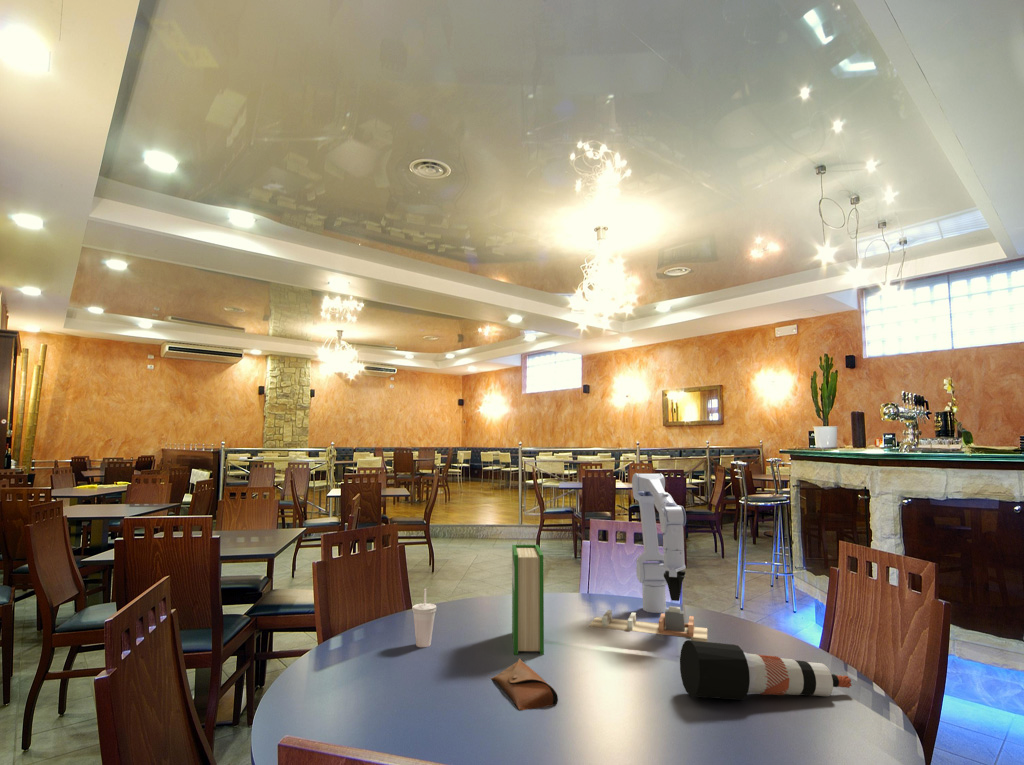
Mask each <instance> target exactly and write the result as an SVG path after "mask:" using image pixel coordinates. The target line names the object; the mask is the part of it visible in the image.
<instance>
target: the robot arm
mask: <svg viewBox="0 0 1024 765" xmlns="http://www.w3.org/2000/svg"><path fill="white" fill-rule="evenodd" d="M631 479H632V480H631V488H632V496H633V499H634V500H636V501H637V502H638V504H639V505H638V506H639V511H640V512H639V513H640V522H641V530H642V531H641V532H642V534H641V535H642V542H643V552H642V553H641V554H639V556H638V557H637V559H636V567H635V569H636V570H635V572H636V578H637V580H638V581H639V583H641V585H642V586H641V588H642V592H641V593H642V610H643V611H644V612H647V613H654V614H661V613H663V614H664V613H665V610H666V609H669V607H667V601H666V600H667V599H666V598H667V596H666V586H667V588H668V592H669V597H670V600H671V601H675V602H676V601H677V602H679V601H680V599H681V595H682V586H683V582H684V579H685V577H686V576H685V575H686V568H687V567H686V564H685V562H686V561H685V541H684V540H685V538H684V537H685V536H684V527H685V526H686V523H687V515H686V514H687V513H686V510H685V508H684V506H683V505H678V504H677V503H676V502H675V501H674V498H673V497H672V495H671V494H670V493H668V491H667V492H666V491H665V487H666V479H665V475H663V474H662V472H660V473H637V472H634V474H633V475H632V478H631ZM655 509H656V510H657V512H658V513H659V514H658V515H659V516H658V518H659V523H660V530H661V533H662V546H663V547H662V549H663V550H662V552H663V553H661V552H660V547H659V539H658V538H659V537H658V529H657V528H658V527H657V521H656V511H655Z"/></svg>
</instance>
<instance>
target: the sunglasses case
mask: <svg viewBox="0 0 1024 765" xmlns="http://www.w3.org/2000/svg"><path fill="white" fill-rule="evenodd" d="M490 679H491V680H492V681H493V682H494V683H496V684H497V685H498V686H499V687H500V689H502V690H503V691H504V693H505V694H506V695H507V696H508V697H509V698H510V700H511V701H512V702H513V704H515V706H516V709H518V710H519V711H521V712H522V711H526V710H532V709H538V708H544V707H545V708H546V707H551V706H556V705H557V704H558V702H559V697H558V694H557V691H556V690H555V689H554V687H552V686H551V685H550V684H549V683H548V682H546V681H545V680H544V678H542V676H540V675H539V674H538V673H537V672H536V671H534V669H533V668H531V667H530V666H529V665H527V664H526V663H525V662H524V661H523V660H522V659H521V658H518V660H517V661H516V662H514V663H513V664H512V665H510V666H509V667H507V668H505V669H504V670H502V671H500V672H499V673H498V674H496V675H495V676H493V677H491V678H490Z"/></svg>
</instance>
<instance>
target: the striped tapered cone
mask: <svg viewBox="0 0 1024 765" xmlns="http://www.w3.org/2000/svg"><path fill="white" fill-rule="evenodd" d="M680 649H681V650H680V654H679V671H680V672H679V673H680V678H681V682H682V685H683V687H684V689H685V692H686V693H687V694H688V696H691V697H701V698H702V697H703V698H714V699H715V698H716V699H726V700H735V701H736V700H738V701H742V700H744V699H745V698H747V695H748V694H749V695H750V694H760V695H761V696H762V695H777V696H784V695H790V696H792V695H793V696H799V695H801V696H815V697H817V696H818V697H829V696H831V694H832V693H833V689H834V688H846V689H850V687H852V686H853V685H852V681H851V680H852V679H851V678H850V677H849V676H848V675H838V674H834V673H832V672H831V671H830V669H829V668H828V666H826V665H825V664H824V663H821V662H820V663H819V662H810V661H806V660H805V661H804V660H796V659H793V658H792V659H791V658H782V657H779V656H775V655H774V656H773V655H766V654H765V655H764V654H755V653H748V652H744V650H743V649H742V648H741V647H740V646H739V645H737V644H732V643H723V642H722V643H721V642H712V641H707V642H703V641H692V640H691V639H688V640H685V641H684V642H683V644H682V646H681V648H680Z"/></svg>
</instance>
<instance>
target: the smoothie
mask: <svg viewBox="0 0 1024 765" xmlns="http://www.w3.org/2000/svg"><path fill="white" fill-rule="evenodd" d="M423 590H424V591H423V603H418V604H417V603H416V604H414V605H413V606H412V607H411V608H412V609H411V610H412V612H413V621H414V622H413V623H414V624H413V625H414V633H415V635H414V636H415V644H416V647H418V648H428V647H430V646H431V645H432V644H431V643H432V637H433V630H434V622H435V616H436V615H435V614H436V611H437V605H436V604H434V603H428V602H427V588H424V589H423Z"/></svg>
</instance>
